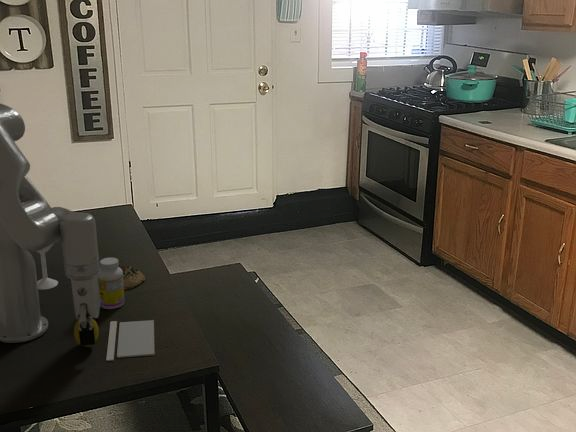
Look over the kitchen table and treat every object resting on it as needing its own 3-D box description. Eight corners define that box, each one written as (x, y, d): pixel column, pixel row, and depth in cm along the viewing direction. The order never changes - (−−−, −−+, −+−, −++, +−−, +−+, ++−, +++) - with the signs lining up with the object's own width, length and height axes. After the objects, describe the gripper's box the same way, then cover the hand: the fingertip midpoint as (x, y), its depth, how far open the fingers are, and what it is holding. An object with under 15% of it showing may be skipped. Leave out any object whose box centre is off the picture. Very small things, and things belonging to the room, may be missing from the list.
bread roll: (109, 273, 186) (111, 258, 184) (147, 278, 188) (149, 263, 186) (101, 291, 176) (103, 275, 174) (141, 296, 177) (143, 280, 176)
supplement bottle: (98, 300, 170) (95, 257, 165) (122, 297, 172) (120, 254, 168) (100, 311, 164) (97, 267, 160) (125, 308, 166) (123, 264, 162)
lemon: (92, 354, 145) (90, 324, 142) (70, 351, 146) (68, 320, 143) (103, 342, 150) (101, 312, 147) (82, 339, 151) (80, 309, 148)
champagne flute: (63, 283, 179) (56, 204, 171) (43, 291, 173) (34, 210, 165) (48, 277, 182) (40, 199, 174) (28, 285, 177) (19, 205, 169)
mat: (116, 357, 144) (116, 356, 143) (119, 323, 158) (119, 322, 158) (154, 355, 145) (154, 353, 145) (153, 321, 160) (153, 320, 160)
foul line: (106, 361, 142) (106, 360, 142) (110, 322, 159) (110, 321, 159) (113, 360, 142) (113, 359, 142) (117, 322, 159) (117, 321, 159)
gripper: (96, 281, 133) (103, 351, 139) (102, 251, 149) (108, 315, 155) (60, 284, 132) (68, 355, 137) (69, 254, 148) (77, 318, 153)
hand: (89, 334), depth 146 cm, fingers open, 9 cm apart
